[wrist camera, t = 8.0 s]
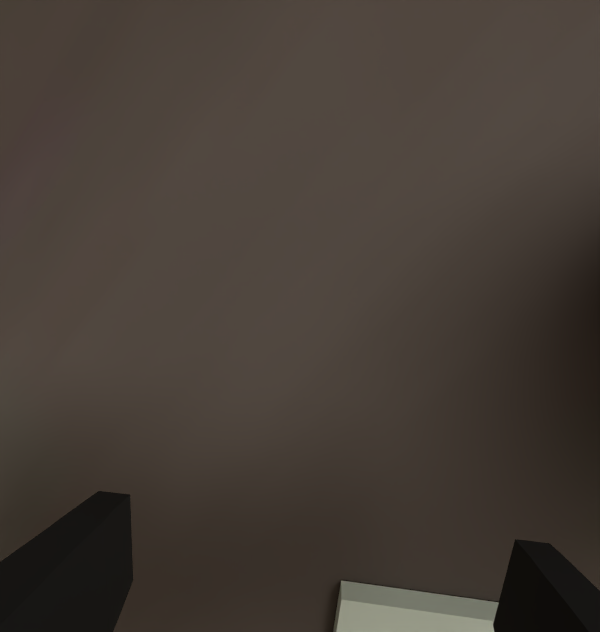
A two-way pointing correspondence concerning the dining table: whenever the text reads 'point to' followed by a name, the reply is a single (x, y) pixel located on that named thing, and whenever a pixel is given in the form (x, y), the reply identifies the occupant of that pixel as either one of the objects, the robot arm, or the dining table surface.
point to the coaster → (409, 611)
